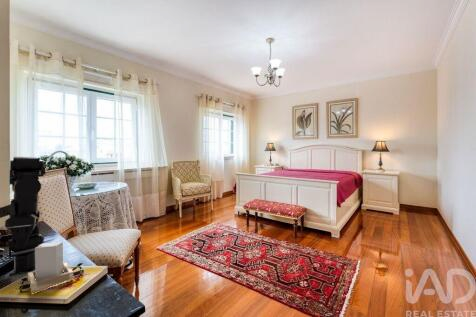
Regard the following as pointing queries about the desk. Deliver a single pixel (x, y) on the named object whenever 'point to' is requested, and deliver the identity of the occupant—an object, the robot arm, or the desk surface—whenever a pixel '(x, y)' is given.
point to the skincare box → (48, 260)
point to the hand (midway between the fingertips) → (23, 244)
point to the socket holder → (49, 279)
